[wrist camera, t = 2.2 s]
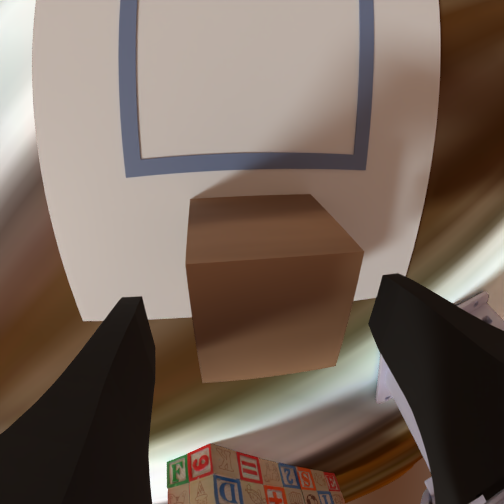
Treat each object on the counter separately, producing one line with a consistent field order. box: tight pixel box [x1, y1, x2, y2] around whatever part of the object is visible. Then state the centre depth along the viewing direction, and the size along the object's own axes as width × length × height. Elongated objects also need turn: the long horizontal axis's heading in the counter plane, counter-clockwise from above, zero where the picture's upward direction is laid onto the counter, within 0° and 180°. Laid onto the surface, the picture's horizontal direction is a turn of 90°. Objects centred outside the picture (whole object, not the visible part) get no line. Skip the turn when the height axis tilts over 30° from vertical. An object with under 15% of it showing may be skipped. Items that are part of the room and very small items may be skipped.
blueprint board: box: [32, 0, 441, 321], centre depth 9 cm, size 22×16×1 cm
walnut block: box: [185, 194, 364, 383], centre depth 10 cm, size 4×4×4 cm
